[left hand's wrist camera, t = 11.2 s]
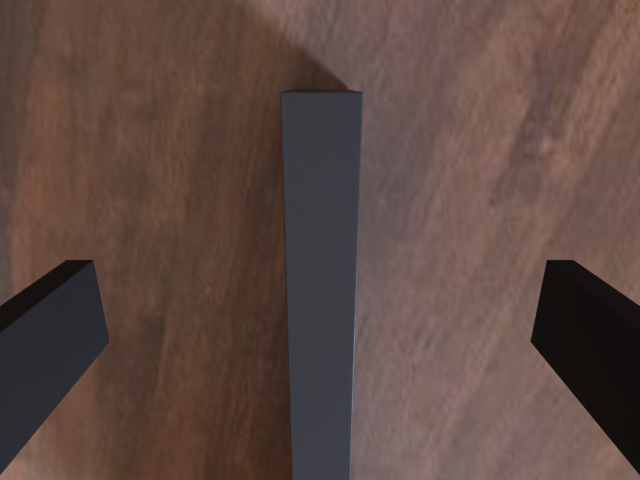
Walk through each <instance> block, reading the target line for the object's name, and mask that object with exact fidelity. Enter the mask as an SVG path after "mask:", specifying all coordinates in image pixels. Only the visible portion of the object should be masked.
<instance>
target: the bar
mask: <svg viewBox="0 0 640 480" xmlns="http://www.w3.org/2000/svg"><path fill="white" fill-rule="evenodd" d="M280 94H281V127H282V160H283V193H284V226H285V259H286V292H287V325H288V358H289V391H290V424H291V457H292V480H350V465H351V435H352V405H353V375H354V345H355V314H356V284H357V254H358V224H359V194H360V164H361V134H362V104H363V92H359V91H353V90H289V91H284V92H281V93H280Z"/></svg>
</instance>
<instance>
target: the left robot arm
mask: <svg viewBox="0 0 640 480" xmlns="http://www.w3.org/2000/svg"><path fill="white" fill-rule="evenodd" d="M108 343H109V337H108V332H107V327H106V322H105V317H104V312H103V307H102V302H101V297H100V292H99V287H98V282H97V277H96V273H95V268H94V263H93V260H66V261H65V262H63V263H62V264H60V265H59V266H57V267H56V268H54V269H53V270H52V271H50V272H49V273H47V274H46V275H44V276H43V277H41V278H40V279H39V280H37V281H36V282H34V283H33V284H31V285H30V286H28V287H27V288H26V289H24V290H23V291H21V292H20V293H18V294H17V295H15V296H14V297H13V298H11V299H10V300H8V301H7V302H5V303H4V304H2V305H1V306H0V475H1V474H2V472H3V471H4V470H5V469H6V467H7V466H8V465H9V464H10V463H11V461H12V460H13V459H14V458H15V456H16V455H17V454H18V453H19V452H20V450H21V449H22V448H23V447H24V445H25V444H26V443H27V442H28V441H29V439H30V438H31V437H32V436H33V434H34V433H35V432H36V431H37V430H38V428H39V427H40V426H41V425H42V423H43V422H44V421H45V420H46V419H47V417H48V416H49V415H50V414H51V412H52V411H53V410H54V409H55V408H56V406H57V405H58V404H59V403H60V401H61V400H62V399H63V398H64V397H65V395H66V394H67V393H68V392H69V390H70V389H71V388H72V387H73V386H74V384H75V383H76V382H77V381H78V379H79V378H80V377H81V376H82V375H83V373H84V372H85V371H86V370H87V368H88V367H89V366H90V365H91V364H92V362H93V361H94V360H95V359H96V357H97V356H98V355H99V354H100V353H101V351H102V350H103V349H104V348H105V346H106V345H107V344H108ZM531 343H532V344H533V345H534V346H535V348H536V349H537V350H538V351H539V353H540V354H541V355H542V356H543V357H544V359H545V360H546V361H547V362H548V364H549V365H550V366H551V367H552V368H553V370H554V371H555V372H556V373H557V375H558V376H559V377H560V378H561V379H562V381H563V382H564V383H565V384H566V386H567V387H568V388H569V389H570V390H571V392H572V393H573V394H574V395H575V397H576V398H577V399H578V400H579V401H580V403H581V404H582V405H583V406H584V408H585V409H586V410H587V411H588V412H589V414H590V415H591V416H592V417H593V419H594V420H595V421H596V422H597V423H598V425H599V426H600V427H601V428H602V430H603V431H604V432H605V433H606V434H607V436H608V437H609V438H610V439H611V441H612V442H613V443H614V444H615V445H616V447H617V448H618V449H619V450H620V452H621V453H622V454H623V455H624V456H625V458H626V459H627V460H628V461H629V463H630V464H631V465H632V466H633V467H634V469H635V470H636V471H637V472H638V474H639V475H640V306H639V305H638V304H636V303H635V302H633V301H632V300H630V299H629V298H627V297H626V296H625V295H623V294H622V293H620V292H619V291H617V290H616V289H614V288H613V287H612V286H610V285H609V284H607V283H606V282H604V281H603V280H601V279H600V278H599V277H597V276H596V275H594V274H593V273H591V272H590V271H588V270H587V269H586V268H584V267H583V266H581V265H580V264H578V263H577V262H575V261H574V260H547V263H546V268H545V273H544V277H543V282H542V287H541V292H540V297H539V302H538V307H537V312H536V317H535V322H534V327H533V332H532V337H531Z"/></svg>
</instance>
